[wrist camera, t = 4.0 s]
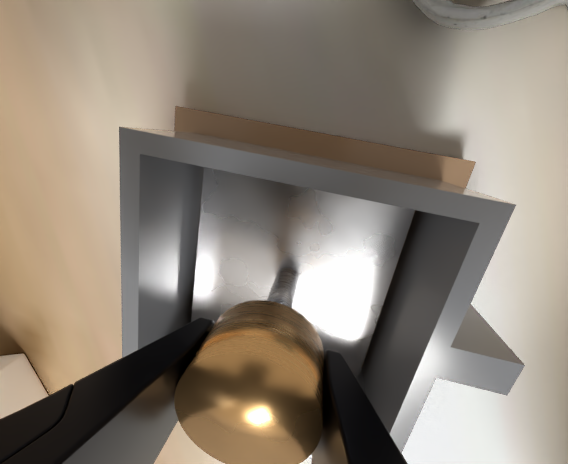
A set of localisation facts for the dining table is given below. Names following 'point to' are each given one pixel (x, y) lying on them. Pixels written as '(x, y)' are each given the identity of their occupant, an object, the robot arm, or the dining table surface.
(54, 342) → the dining table surface
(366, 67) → the dining table surface
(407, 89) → the dining table surface
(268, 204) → the plunger
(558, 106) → the dining table surface
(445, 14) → the ceramic mug
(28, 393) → the milk
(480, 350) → the grey square tray
